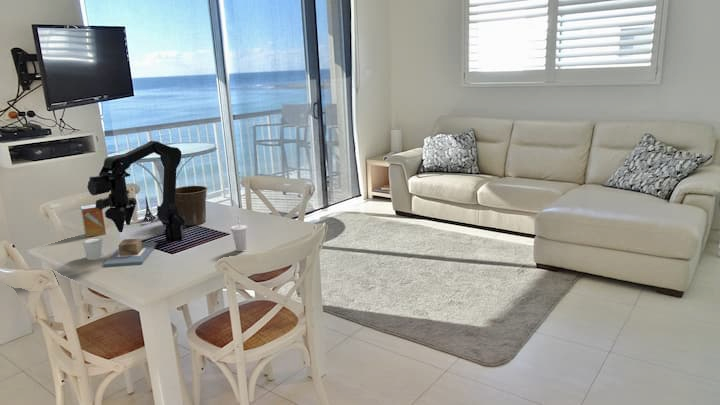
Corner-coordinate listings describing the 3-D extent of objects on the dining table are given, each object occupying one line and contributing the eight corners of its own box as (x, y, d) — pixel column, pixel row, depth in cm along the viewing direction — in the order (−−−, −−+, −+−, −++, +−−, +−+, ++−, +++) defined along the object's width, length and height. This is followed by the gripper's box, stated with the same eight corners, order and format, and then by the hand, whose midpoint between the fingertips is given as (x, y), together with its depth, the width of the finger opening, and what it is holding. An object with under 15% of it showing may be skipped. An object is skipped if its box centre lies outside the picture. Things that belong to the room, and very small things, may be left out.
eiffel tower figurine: (141, 227, 242) (137, 199, 239) (129, 223, 248) (125, 196, 244) (169, 218, 254) (165, 192, 250) (157, 215, 260) (153, 190, 256)
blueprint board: (157, 244, 217) (157, 241, 217) (142, 264, 196) (141, 261, 196) (122, 246, 215) (122, 244, 215) (103, 266, 194) (103, 263, 194)
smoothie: (252, 248, 209) (249, 214, 205) (244, 253, 203) (240, 219, 199) (238, 246, 211) (235, 213, 207) (229, 252, 205) (226, 218, 202)
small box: (86, 237, 228) (81, 209, 225) (84, 234, 233) (79, 206, 230) (106, 233, 232) (101, 206, 229) (104, 230, 238) (99, 203, 234)
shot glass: (89, 254, 207) (86, 238, 205) (107, 253, 208) (104, 237, 206) (82, 261, 201) (79, 244, 199) (100, 260, 201) (97, 243, 199)
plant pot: (201, 215, 257) (197, 183, 252) (216, 221, 245) (213, 188, 241) (169, 222, 246) (164, 189, 242) (184, 230, 235) (179, 195, 230)
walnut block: (142, 248, 209) (140, 238, 208) (137, 254, 203) (136, 244, 201) (125, 249, 208) (123, 239, 207) (120, 255, 202) (118, 245, 201)
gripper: (105, 185, 206) (111, 222, 210) (87, 196, 188) (94, 237, 193) (134, 183, 208) (139, 221, 212) (119, 195, 190) (125, 235, 194)
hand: (124, 228), depth 202 cm, fingers open, 9 cm apart
